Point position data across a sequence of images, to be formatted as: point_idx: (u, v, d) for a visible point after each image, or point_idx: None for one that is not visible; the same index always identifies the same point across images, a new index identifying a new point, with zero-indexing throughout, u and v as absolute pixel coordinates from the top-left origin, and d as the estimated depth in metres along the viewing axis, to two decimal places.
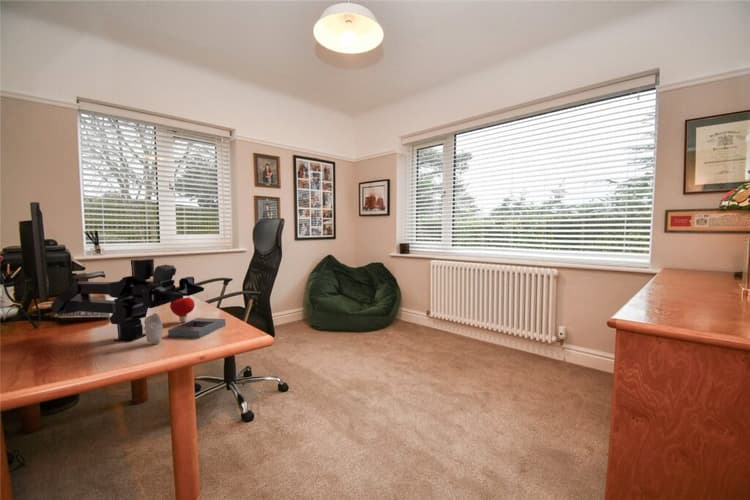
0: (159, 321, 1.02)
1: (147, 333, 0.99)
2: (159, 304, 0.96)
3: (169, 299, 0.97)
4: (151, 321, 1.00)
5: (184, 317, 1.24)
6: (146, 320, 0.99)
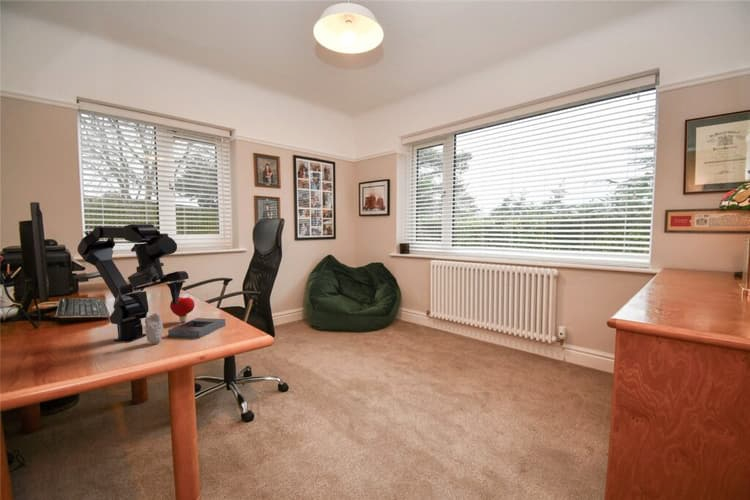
0: (159, 321, 1.02)
1: (147, 332, 0.99)
2: None
3: None
4: (152, 320, 1.00)
5: (184, 317, 1.24)
6: (147, 319, 0.99)
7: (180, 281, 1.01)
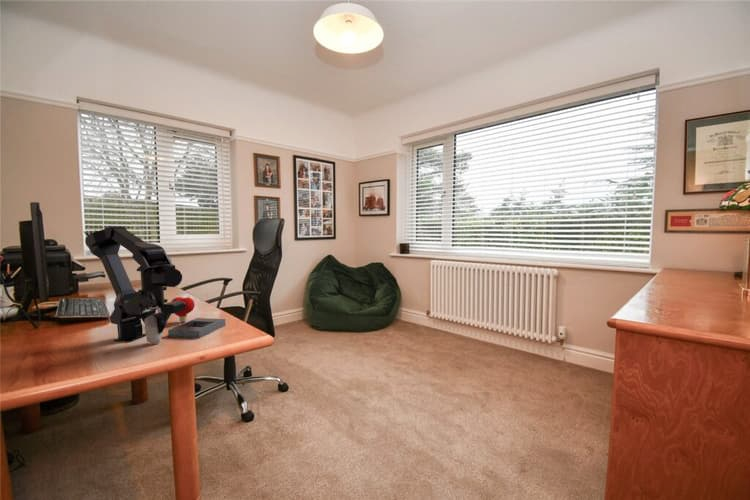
0: None
1: (147, 333, 0.99)
2: None
3: None
4: (151, 321, 1.00)
5: (184, 317, 1.24)
6: (146, 320, 0.99)
7: None
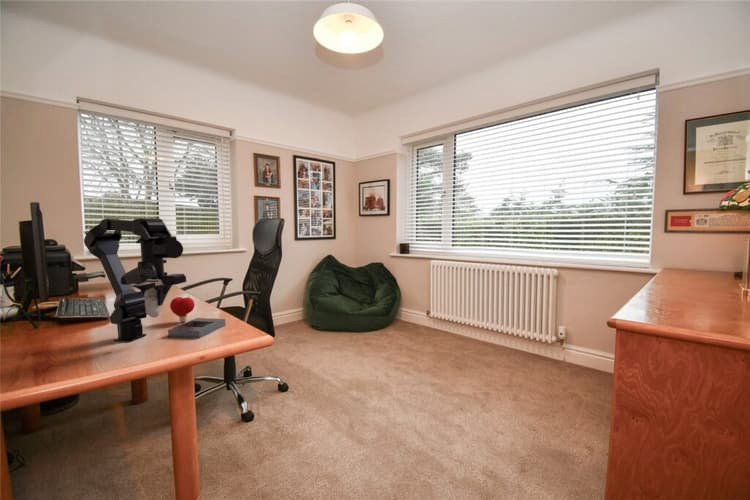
0: None
1: (146, 306, 0.99)
2: None
3: None
4: (151, 294, 1.00)
5: (184, 317, 1.24)
6: (146, 293, 0.99)
7: (167, 284, 1.00)
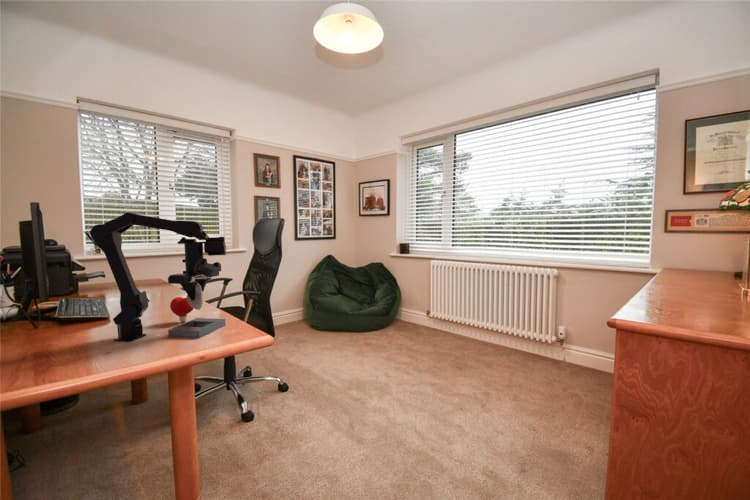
0: None
1: (202, 298, 1.12)
2: (181, 283, 1.09)
3: (187, 290, 1.10)
4: None
5: (184, 317, 1.24)
6: None
7: None
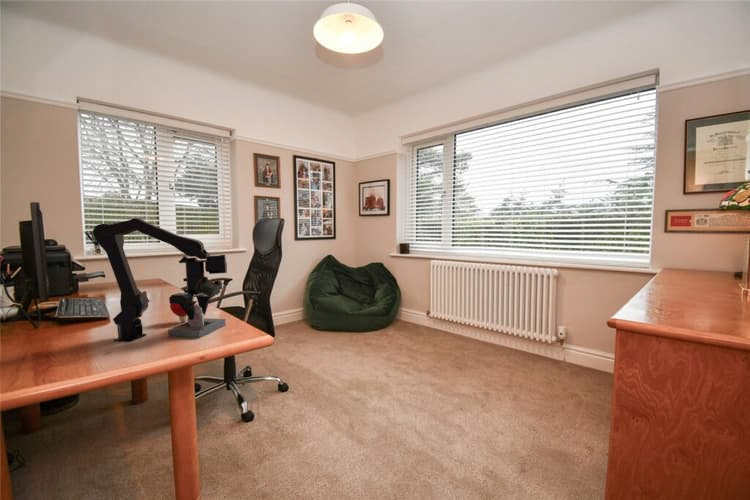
0: None
1: (203, 320, 1.12)
2: (179, 303, 1.08)
3: (186, 310, 1.09)
4: None
5: (184, 317, 1.24)
6: (201, 309, 1.12)
7: None
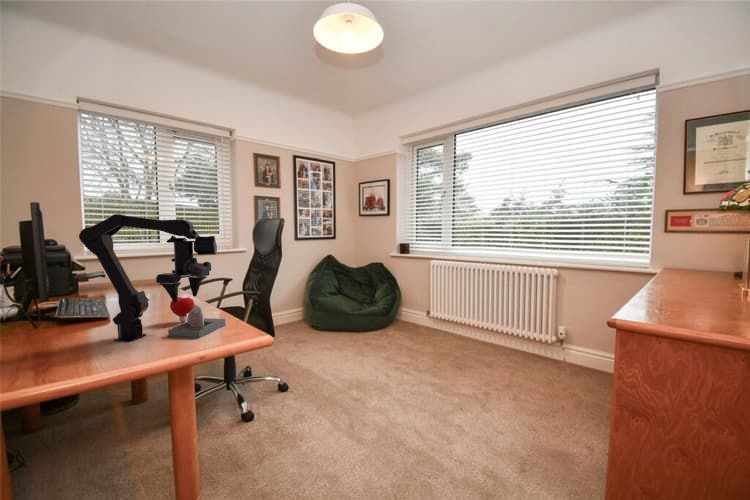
0: None
1: (203, 320, 1.12)
2: None
3: (169, 292, 1.05)
4: None
5: (184, 317, 1.24)
6: (201, 309, 1.12)
7: None
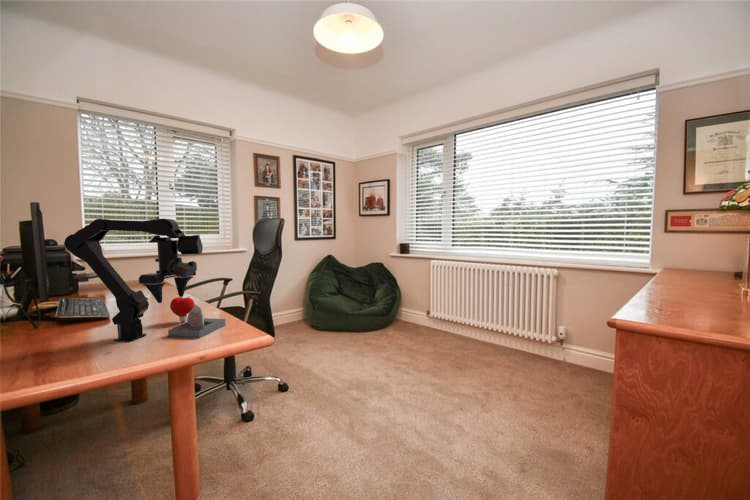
0: None
1: (203, 320, 1.12)
2: None
3: (153, 292, 1.03)
4: None
5: (184, 317, 1.24)
6: (201, 309, 1.12)
7: None
